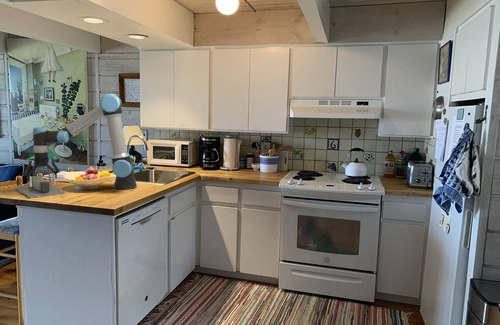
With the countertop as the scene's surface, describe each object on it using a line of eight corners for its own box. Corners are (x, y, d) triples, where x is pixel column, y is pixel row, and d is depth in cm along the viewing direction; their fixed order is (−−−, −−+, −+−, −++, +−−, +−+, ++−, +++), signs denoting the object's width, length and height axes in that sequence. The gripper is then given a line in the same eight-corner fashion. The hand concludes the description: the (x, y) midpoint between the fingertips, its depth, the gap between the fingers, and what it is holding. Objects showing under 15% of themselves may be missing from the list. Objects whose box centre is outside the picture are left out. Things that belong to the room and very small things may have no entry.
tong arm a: (36, 186, 236) (36, 178, 235) (40, 186, 238) (39, 177, 237) (46, 192, 223) (45, 182, 222) (49, 191, 225) (49, 182, 224)
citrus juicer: (51, 182, 260) (49, 141, 256) (39, 185, 250) (37, 142, 246) (38, 181, 263) (36, 140, 259) (26, 184, 253) (24, 141, 249)
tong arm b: (32, 187, 234) (32, 178, 234) (36, 187, 236) (35, 178, 235) (42, 192, 222) (42, 182, 221) (46, 192, 223) (45, 182, 222)
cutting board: (15, 189, 234) (15, 188, 234) (48, 186, 249) (48, 184, 249) (29, 198, 214) (29, 196, 214) (65, 193, 229) (65, 191, 228)
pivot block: (27, 187, 238) (27, 175, 237) (39, 186, 243) (38, 174, 242) (30, 188, 234) (29, 177, 233) (42, 187, 239) (41, 175, 238)
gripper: (59, 150, 236) (61, 181, 239) (16, 152, 218) (18, 186, 221) (64, 151, 231) (65, 183, 234) (19, 153, 213) (21, 188, 216)
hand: (42, 185), depth 227 cm, fingers open, 13 cm apart
